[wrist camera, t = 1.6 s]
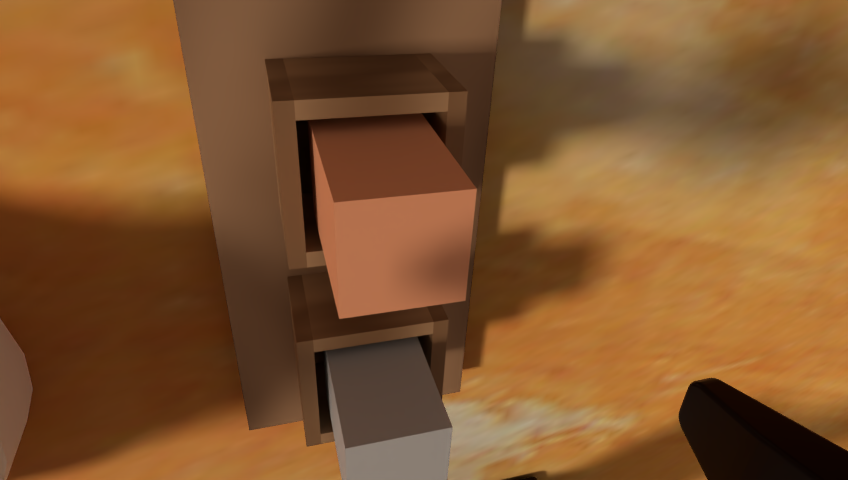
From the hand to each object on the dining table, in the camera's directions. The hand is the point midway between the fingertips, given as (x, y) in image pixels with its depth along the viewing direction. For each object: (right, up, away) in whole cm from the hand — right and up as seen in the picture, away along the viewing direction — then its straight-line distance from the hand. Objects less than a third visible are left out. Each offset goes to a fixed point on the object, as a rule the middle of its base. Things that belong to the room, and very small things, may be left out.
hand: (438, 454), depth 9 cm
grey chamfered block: (-2, -1, +12) cm, 12 cm away
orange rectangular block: (-2, +6, +8) cm, 10 cm away
